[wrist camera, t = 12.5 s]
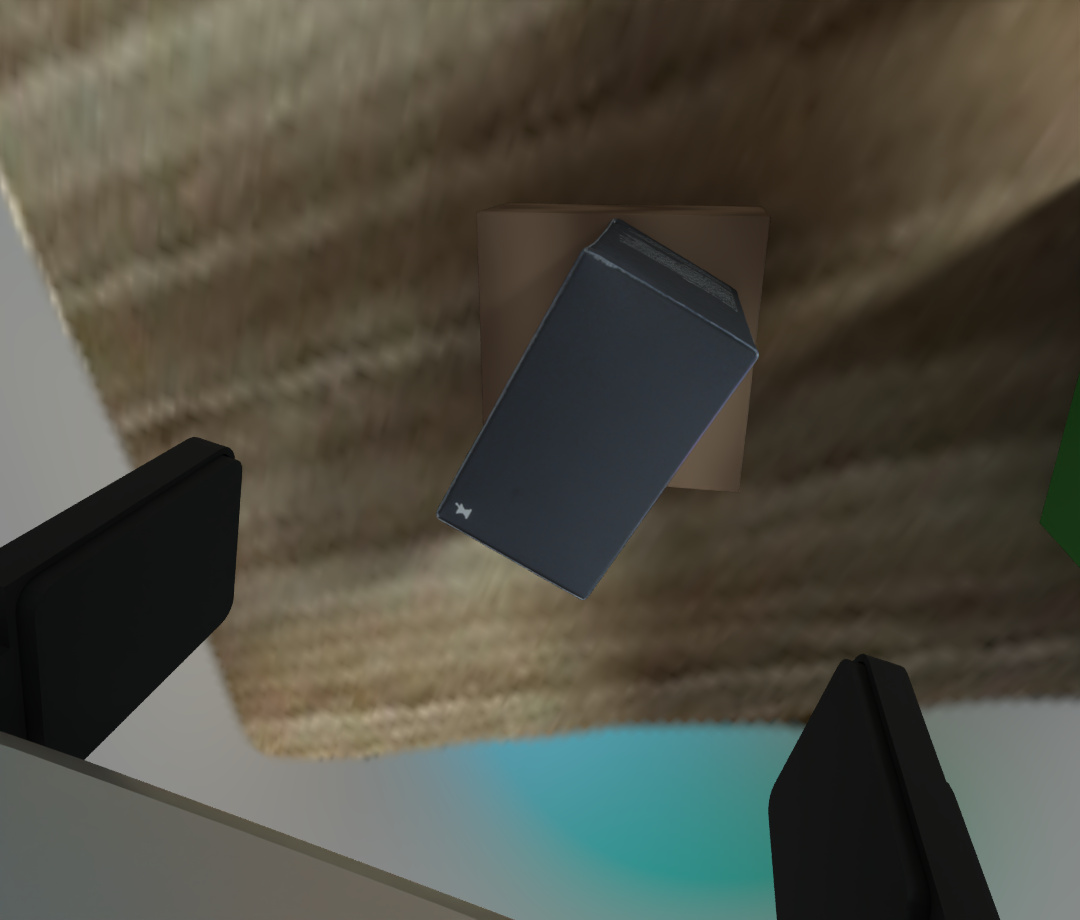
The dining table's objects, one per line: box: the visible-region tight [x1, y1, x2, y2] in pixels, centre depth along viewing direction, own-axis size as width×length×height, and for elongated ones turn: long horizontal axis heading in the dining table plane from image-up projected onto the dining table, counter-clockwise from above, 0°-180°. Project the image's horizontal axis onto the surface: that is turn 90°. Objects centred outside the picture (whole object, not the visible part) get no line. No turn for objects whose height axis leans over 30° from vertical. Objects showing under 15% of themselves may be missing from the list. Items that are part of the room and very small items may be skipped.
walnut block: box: [477, 203, 770, 492], centre depth 36 cm, size 12×12×6 cm
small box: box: [436, 218, 759, 600], centre depth 28 cm, size 11×6×10 cm, turn 151°
